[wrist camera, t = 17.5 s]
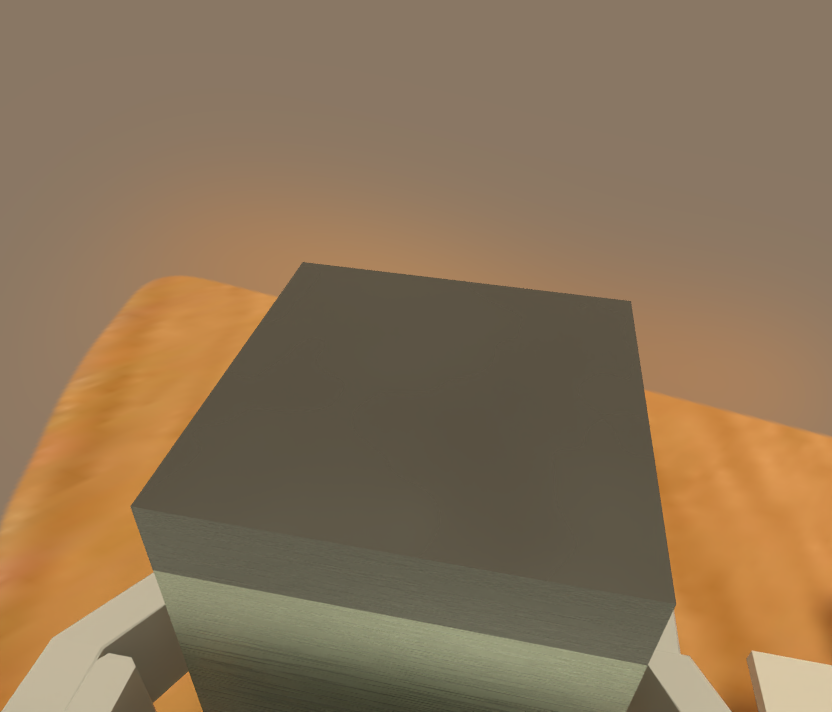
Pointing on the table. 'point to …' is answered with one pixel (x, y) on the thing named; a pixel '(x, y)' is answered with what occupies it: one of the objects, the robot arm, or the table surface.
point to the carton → (790, 684)
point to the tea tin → (417, 505)
